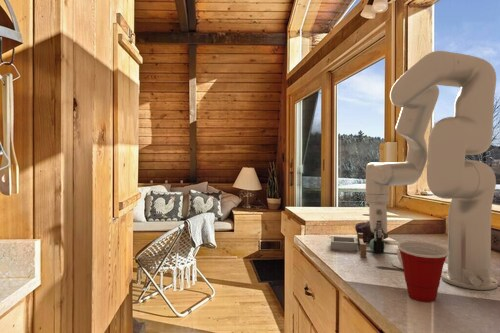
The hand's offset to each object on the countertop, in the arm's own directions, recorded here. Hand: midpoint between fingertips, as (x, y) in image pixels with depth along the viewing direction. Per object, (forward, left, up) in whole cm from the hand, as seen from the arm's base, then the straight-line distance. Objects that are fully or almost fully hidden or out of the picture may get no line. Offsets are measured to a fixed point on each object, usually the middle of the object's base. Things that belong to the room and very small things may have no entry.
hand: (377, 249), depth 122 cm
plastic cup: (-39, -6, -1) cm, 39 cm away
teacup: (-14, -8, -2) cm, 16 cm away
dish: (+4, +11, -1) cm, 12 cm away
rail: (+1, +5, -1) cm, 5 cm away
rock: (+16, 0, -1) cm, 16 cm away
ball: (0, 0, -1) cm, 1 cm away
